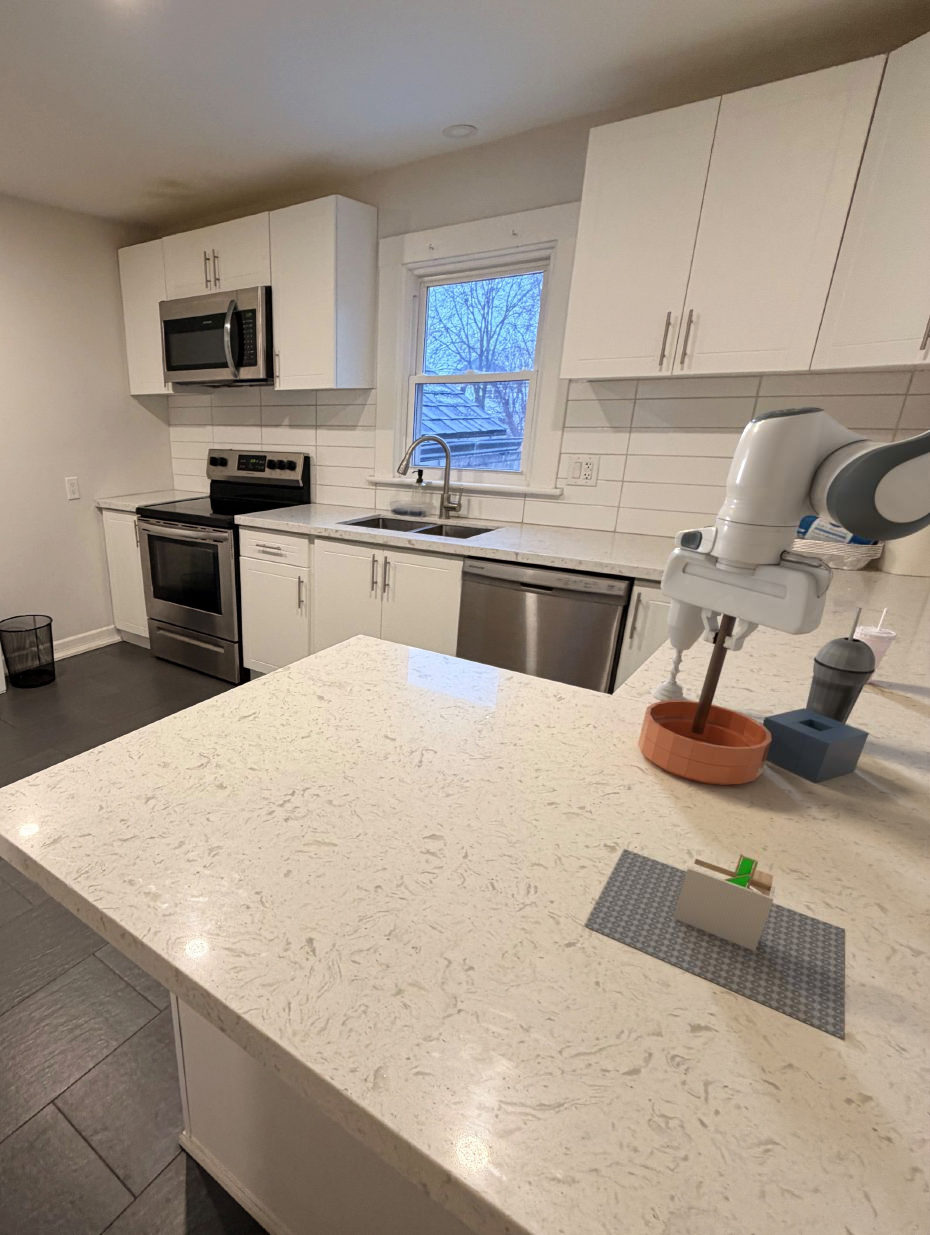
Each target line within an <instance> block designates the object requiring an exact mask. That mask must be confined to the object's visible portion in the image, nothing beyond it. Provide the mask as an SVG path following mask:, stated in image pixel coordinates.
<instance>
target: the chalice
mask: <svg viewBox="0 0 930 1235" xmlns="http://www.w3.org/2000/svg"><path fill="white" fill-rule="evenodd" d="M702 610H703V607H700V606H696V605H693V604H690V603H686V602H683V601H680V600H677V599H673V598H671V601H670V606H669V610H668V614H667V619H666V628H667V634H668V638H669V641H670V645H671V647H672V648H673V649H675V655H674V657H673V658H671V661H672V666H671V667H670V668H669V669H668V671H669V674H670V675H669V678H668V679H666V680H665V681H661V682H659V683H658V686H657V687H656V688H655V690H653V691H652V692H651V695H652V696H653V697H654V698H655V699H658V700H660V701H669V700H684V701H686V700H685V697H684V692H683V687H682V686H681V684H680V683H678V681H677V676H678V674H680V673H681V670H680V665H681V663H682V662H683V659H682V656H683V652H684V651H689V650H690V649H691V648H692V647H693V646H694V645H695V643H697V641H698V640H699V639H700V638H701V637H702V635H703V634H704V633H705V631H706V629H705V627H704V623H703V620H702V616H701V614H702Z"/></svg>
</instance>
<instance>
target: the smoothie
mask: <svg viewBox="0 0 930 1235" xmlns="http://www.w3.org/2000/svg"><path fill="white" fill-rule="evenodd" d="M889 610H890V608H889V607H885V608H884V610H883V613H882V616H881V619H880V620H879V622H878V623H879V624H878V626H872V625H857V627H856V630H855V633H854V637H853V638H855V639H859V640H861V641H863V642H865V643H866V644H867V645H868V646H869V647H870V648H871V650H872V651H873V653H874V656H875V667H874V669H875V671H874V672H873V673H872V675H871V677H870V678H869V680H868V681H867V683H866V684H869V683H870V682H871V681H872V678H873V677H874V675H875V674H876V671H877V670H878V669H879V666H880V664H881V662H882V661H883V659H884V657H885V656H886V653H887V652H888V650H889V648H890V647H891V644H892V643H893V642H894V641H896V639H897V635H898V634H897V633H896V632H894V631H892V630H890V629H886V628H883V626H884V623H885V621H886V618H887V616H888V613H889Z"/></svg>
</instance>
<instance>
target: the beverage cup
mask: <svg viewBox="0 0 930 1235" xmlns="http://www.w3.org/2000/svg"><path fill="white" fill-rule="evenodd" d="M862 609H863V608H862V607H857V609H856V612H855V615H854V619H853V622H852V626H851V629H850V633H849V635H848V636H846V637H845V636H844V637H838V638H834V639H832V640H829V641H828V642H826V644H824V645H823V646H821V647H820V649H818V652H817V653H816V656H815V657H814V658H813V666H812V667H813V668H812V674H813V675H812V679H811V684H810V688H809V693H808V697H807V701H806V706H805V709H807V710H810V711H813V712H815V713H818V714H820V715H823V716H825V717H828V718H831V719H833V720H836V721H838V722H841V723H844V724H846V723H847V721H848V719H849V717H850V715H851V713H852V711H853V709H854V707H855V705H856V703H857V701H858V699H859V697H860V695H861V693H862V691H863V689H864V687H865V686H866V684H868V683H867V681H868V680H869V678H870V677H871V675H872V673H873V672H874V671H875V669H874V667H875V656H874V653H873V651H872V650H871V648H870V647H869V646H868V645H867V644H866V643H865V642H863V641H861V640H859V639H855V638H853V637H854V633H855V630H856V627H857V626H858V622H859V620H860V617H861V613H862V611H863V610H862ZM875 672H876V671H875Z"/></svg>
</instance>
